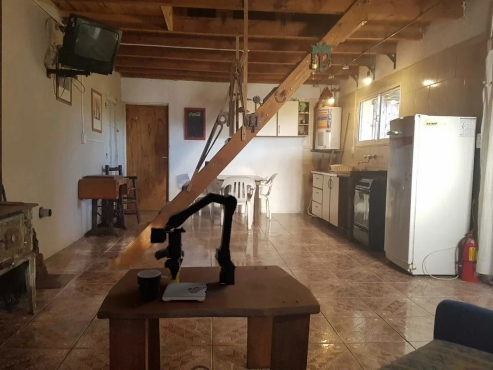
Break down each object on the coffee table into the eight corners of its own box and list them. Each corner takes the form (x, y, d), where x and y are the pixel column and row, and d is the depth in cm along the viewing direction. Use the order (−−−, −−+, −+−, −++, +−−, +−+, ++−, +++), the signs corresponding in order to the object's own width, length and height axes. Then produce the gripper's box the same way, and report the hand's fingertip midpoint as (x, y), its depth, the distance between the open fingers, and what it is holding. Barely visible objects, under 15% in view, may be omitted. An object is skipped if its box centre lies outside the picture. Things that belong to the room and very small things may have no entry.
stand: (206, 287, 155) (206, 282, 154) (204, 302, 140) (204, 296, 139) (168, 288, 154) (168, 282, 153) (162, 302, 139) (162, 296, 138)
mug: (140, 294, 146) (139, 269, 145) (162, 294, 147) (162, 269, 146) (133, 306, 134) (132, 280, 133) (157, 306, 135) (157, 279, 134)
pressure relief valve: (176, 287, 154) (176, 264, 153) (152, 284, 158) (152, 261, 157) (182, 283, 159) (182, 261, 159) (159, 280, 163) (159, 258, 163)
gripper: (159, 237, 165) (160, 271, 166) (151, 248, 147) (151, 285, 148) (184, 237, 166) (184, 271, 167) (179, 248, 147) (179, 285, 148)
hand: (174, 277), depth 158 cm, fingers closed on pressure relief valve, 5 cm apart
